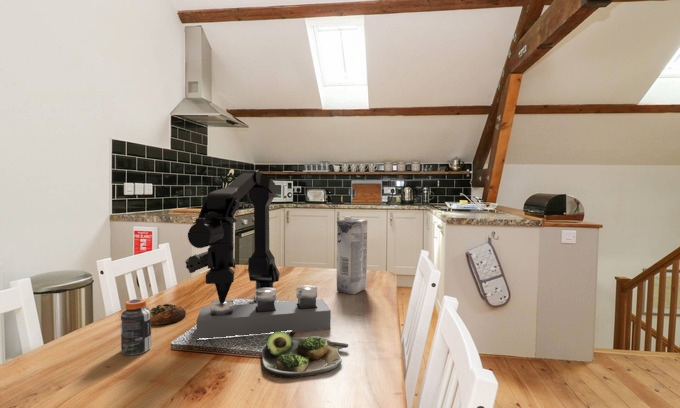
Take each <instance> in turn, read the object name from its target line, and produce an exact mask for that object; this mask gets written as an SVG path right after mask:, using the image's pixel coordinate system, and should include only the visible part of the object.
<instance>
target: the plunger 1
mask: <svg viewBox="0 0 680 408" xmlns="http://www.w3.org/2000/svg"><path fill="white" fill-rule="evenodd" d="M209 305H210V306H209V307H210V313H211V314H212V315H213V316H217V315H231V313H232V312H233V305H234V300H232V299H231V298H226V299H225V302H224V303H220V301H219V299H215V300H213V301H210V303H209Z"/></svg>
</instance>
